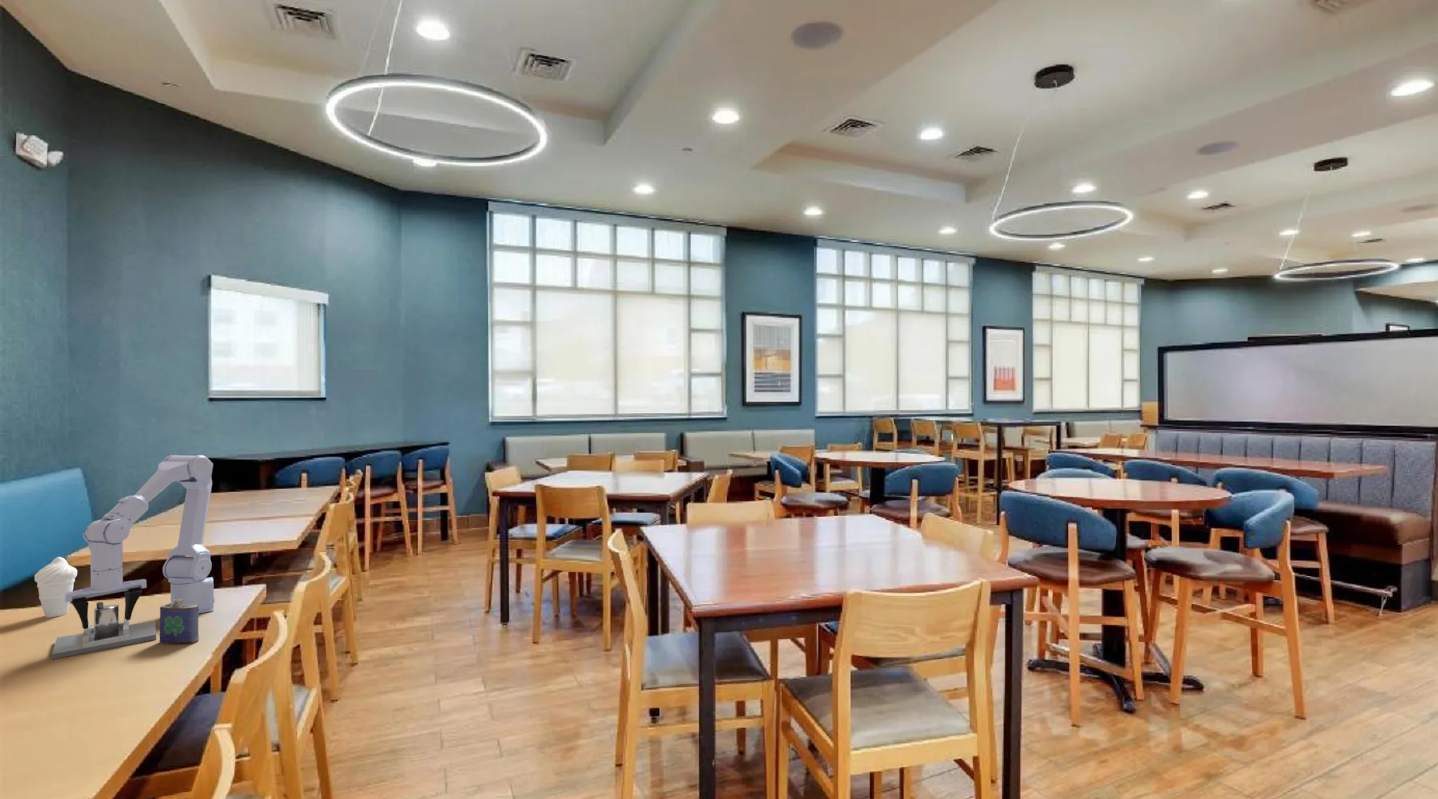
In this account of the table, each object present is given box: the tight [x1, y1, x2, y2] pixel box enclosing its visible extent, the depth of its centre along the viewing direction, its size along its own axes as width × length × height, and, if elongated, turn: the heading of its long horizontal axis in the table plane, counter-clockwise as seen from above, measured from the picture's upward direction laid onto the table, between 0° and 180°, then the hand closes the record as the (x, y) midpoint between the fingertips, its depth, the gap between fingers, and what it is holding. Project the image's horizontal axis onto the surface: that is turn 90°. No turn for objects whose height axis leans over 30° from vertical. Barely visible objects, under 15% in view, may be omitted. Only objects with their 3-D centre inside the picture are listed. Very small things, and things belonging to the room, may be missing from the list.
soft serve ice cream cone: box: [34, 556, 78, 618], centre depth 177 cm, size 8×8×16 cm
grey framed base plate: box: [51, 616, 157, 660], centre depth 158 cm, size 18×14×4 cm
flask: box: [159, 598, 200, 645], centre depth 157 cm, size 9×3×11 cm, turn 88°
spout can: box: [93, 601, 120, 639], centre depth 158 cm, size 4×4×8 cm
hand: (106, 623), depth 158 cm, fingers open, 7 cm apart
